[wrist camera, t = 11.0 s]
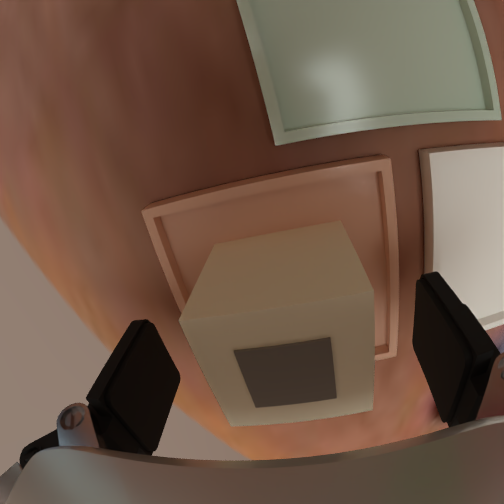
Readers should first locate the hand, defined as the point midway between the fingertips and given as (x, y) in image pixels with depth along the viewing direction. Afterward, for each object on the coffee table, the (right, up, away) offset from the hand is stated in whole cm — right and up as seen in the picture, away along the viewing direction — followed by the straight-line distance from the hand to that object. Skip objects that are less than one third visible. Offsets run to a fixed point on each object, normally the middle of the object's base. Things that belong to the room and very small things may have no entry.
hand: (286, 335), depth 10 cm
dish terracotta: (0, +1, +3) cm, 3 cm away
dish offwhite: (+11, +3, +1) cm, 12 cm away
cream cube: (0, +1, +3) cm, 3 cm away
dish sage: (+3, +12, -2) cm, 12 cm away
